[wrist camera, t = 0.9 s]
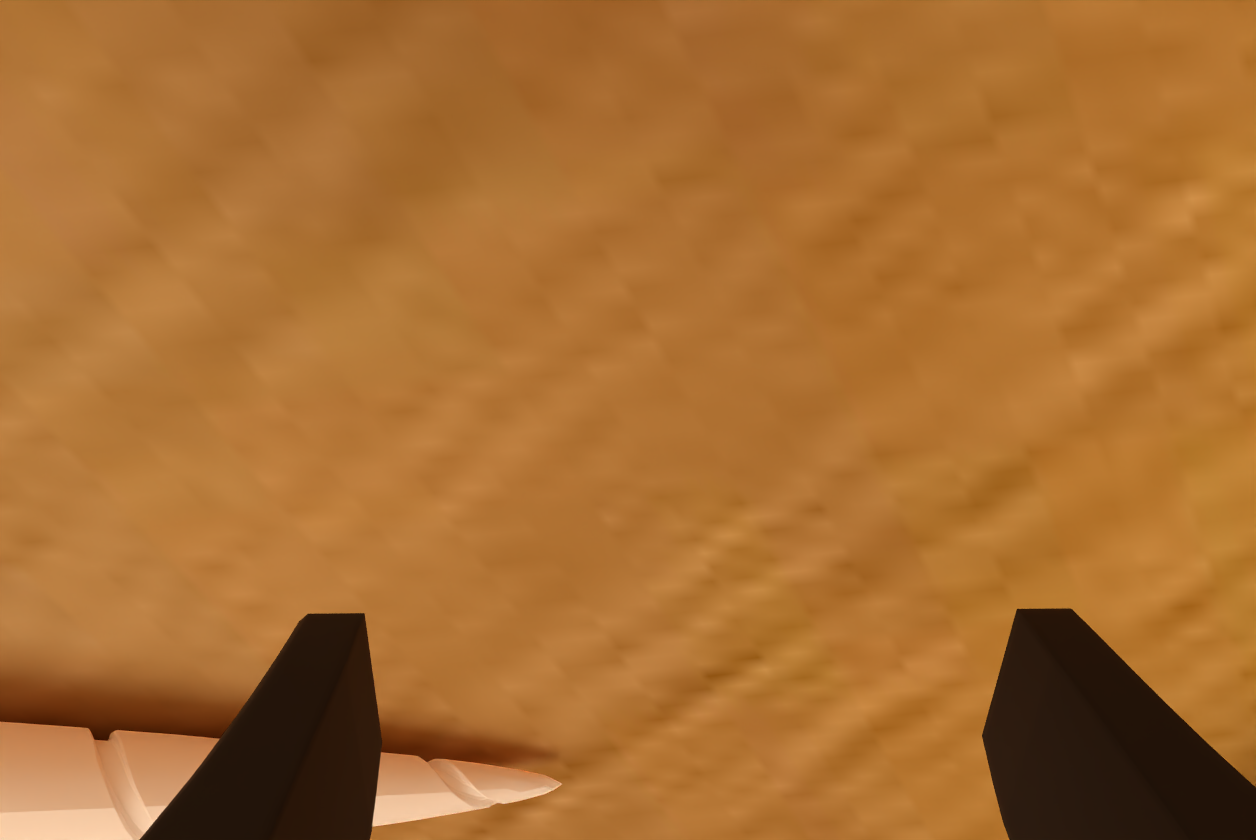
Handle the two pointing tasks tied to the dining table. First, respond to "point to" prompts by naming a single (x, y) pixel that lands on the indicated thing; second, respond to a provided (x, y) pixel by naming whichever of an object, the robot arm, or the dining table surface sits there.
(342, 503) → the dining table surface
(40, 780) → the unicorn horn
